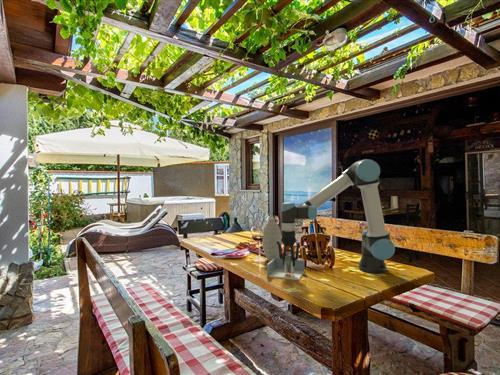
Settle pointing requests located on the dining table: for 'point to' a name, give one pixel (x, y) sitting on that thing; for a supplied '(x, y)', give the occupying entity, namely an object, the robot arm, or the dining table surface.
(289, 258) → the mechanical component
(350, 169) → the robot arm
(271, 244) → the vase
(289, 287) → the dining table surface
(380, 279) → the dining table surface
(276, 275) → the tray
